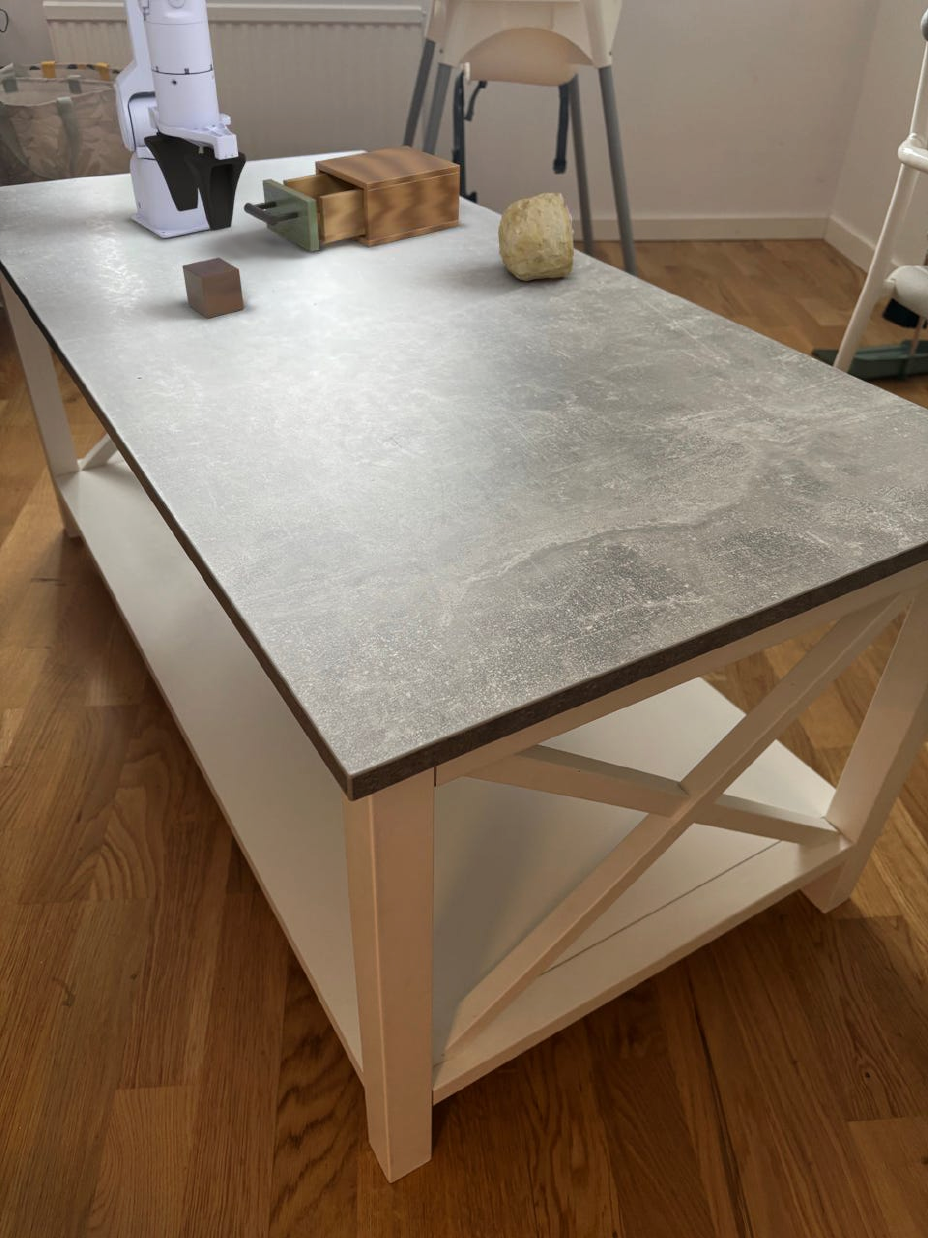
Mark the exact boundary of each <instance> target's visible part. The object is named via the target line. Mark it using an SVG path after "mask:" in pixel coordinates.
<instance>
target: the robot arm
mask: <svg viewBox="0 0 928 1238" xmlns="http://www.w3.org/2000/svg"><path fill="white" fill-rule="evenodd" d="M122 3H123V8H124V14H125V19H126V27H127V31H128V37H129V38H128V39H129V44H130V50H131V54H132V60H131V61H130V63H128V65H126V66H125V67H124V68H123V69H122V70H121V71H120V72H119V73H118V74H117V76H116V77H115V79H114V84H113V89H114V95H115V107H116V115H117V120H118V124H119V129H120V134H121V138H122V143H123V146H124V147H125V148H126V149H128V151H129V152H133V153H132V155H131V158H130V161H129V173H130V178H131V183H132V184H131V185H132V189H133V195H134V199H135V205H136V211H137V213H136V214H132V215H131V220H132V221H134V222H136V223H137V224H139V225H140V226H142V227H144V228H145V229H147V230H149V231H150V232H151V233H154V234H155V235H157V236H159V237H160V238H162V239H168V238H174V237H178V236H183V235H188V234H192V233H197V232H201V231H208V230H212V231H220V230H224V229H230V228H231V227H232V224H233V215H234V207H235V200H236V199H235V198H236V192H237V187H238V183H239V180H240V177H241V174H242V172H243V169H244V167H245V165H246V163H247V158H246V154H245V153H243V152H241V151H239V150H238V141H237V135H236V134H235V133H232V131H230V130H229V128H228V126H230V125H232V121H231V116H229V115H227V114H225V113H220V109H219V102H218V93H217V85H216V77H215V75H216V74H215V69H214V60H213V51H212V44H211V43H212V42H211V35H210V28H209V20H208V19H209V18H208V11H207V3H206V0H122ZM200 148H201V149H202V152H200Z"/></svg>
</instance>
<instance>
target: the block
mask: <svg viewBox="0 0 928 1238" xmlns="http://www.w3.org/2000/svg"><path fill="white" fill-rule="evenodd" d="M182 272H183V279H184V286H185V292H186V297H187V298H186V299H187V303H188V306H189V307H190V308H192V309H193V310H194V311H196V312H197V313H199V314H200V315H202V316H203V317H204V318H206V319H211V318H216V317H219V316H223V315H227V314H230V313H235V312H239V311H243V310H244V309H245V308H244V307H245V306H244V299H243V298H244V297H243V291H242V283H241V276H240V275H241V274H240V269H239V268H238V267H236V266H234V265H233V264H231V263H229V262H227V261H226V260H224V259H222V258H221V257H216V258H215V257H214V258H211V259H205V260H201V261H196V262H193V263H188V264H184V265H182Z"/></svg>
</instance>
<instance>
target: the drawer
mask: <svg viewBox="0 0 928 1238" xmlns="http://www.w3.org/2000/svg"><path fill="white" fill-rule="evenodd" d="M261 182H262V191H263V201H264V202H261V203H255V204H253V203H251V202H246V203H245V204H244V206H243V211H244V212H245V213H246V214H248V215H250V216H252V217H254V218H256V219H258V220H260V221H262V222H264V223H265V224H266V229H268V230H270V231H271V232H273V233H275V234H277V235H279V236H281V237H283V238H285V239H287V240H288V241H291V242H292V243H295V244H296V245H298V246H300V247H302V248H304V249H306V250H307V251H310V252H315V251H319V250H320V242H322V243H324V244H329V243H332V242H333V243H334V242H337V241H341V240H345V239H349V238H350V237H355V236H359V235H363V234H365V212H364V189H363V188H361V187H359V186H356V185H354V184H352V183H349V182H347V181H345V180H342V179H340V178H338V177H335V176H333V175H331V174H328V173H326V172H325V173H320V174H316V173H315V174H310V175H304V176H299V177H293V178H288V179H283V180H282V183H281V182H279V181H277V180H274V179H273V178H268V179H267V178H266V179H262V180H261ZM350 239H351V238H350Z"/></svg>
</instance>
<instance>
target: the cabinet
mask: <svg viewBox="0 0 928 1238" xmlns="http://www.w3.org/2000/svg"><path fill="white" fill-rule="evenodd" d="M314 166H315V167H314V168H315V174H320V173H325V172H326V173H328V174H331V175H333V176H335V177H338V178H340V179H342V180H345V181H347V182H349V183H352V184H354V185H356V186H359V187H361V188H363V189H364V212H365V234H363V235H359V236H355V237H350V239H352V240H354V241H356V242H358V243H359V244H362V245H364V246H366V247H368V248H372V247H375V246H379V245H385V244H388V243H393V242H397V241H400V240H406V239H410V238H413V237H417V236H422V235H426V234H431V233H435V232H439V231H442V230H447V229H452V228H455V227H456V228H457V227H459V226H460V191H461V190H460V188H461V187H460V186H461V185H460V184H461V183H460V182H461V165H460V164H457V163H455V162H452V161H449V160H446V159H444V158H442V157H438V156H436V155H433V154H431V153H428V152H425V151H422V150H419V149H418V148H417V149H416V148H414V147H411V146H409V145H401V146H395V147H389V148H384V149H378V150H372V151H367V152H361V153H355V154H351V155H345V156H339V157H334V158H328V159H323V160H316V161H314Z"/></svg>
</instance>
